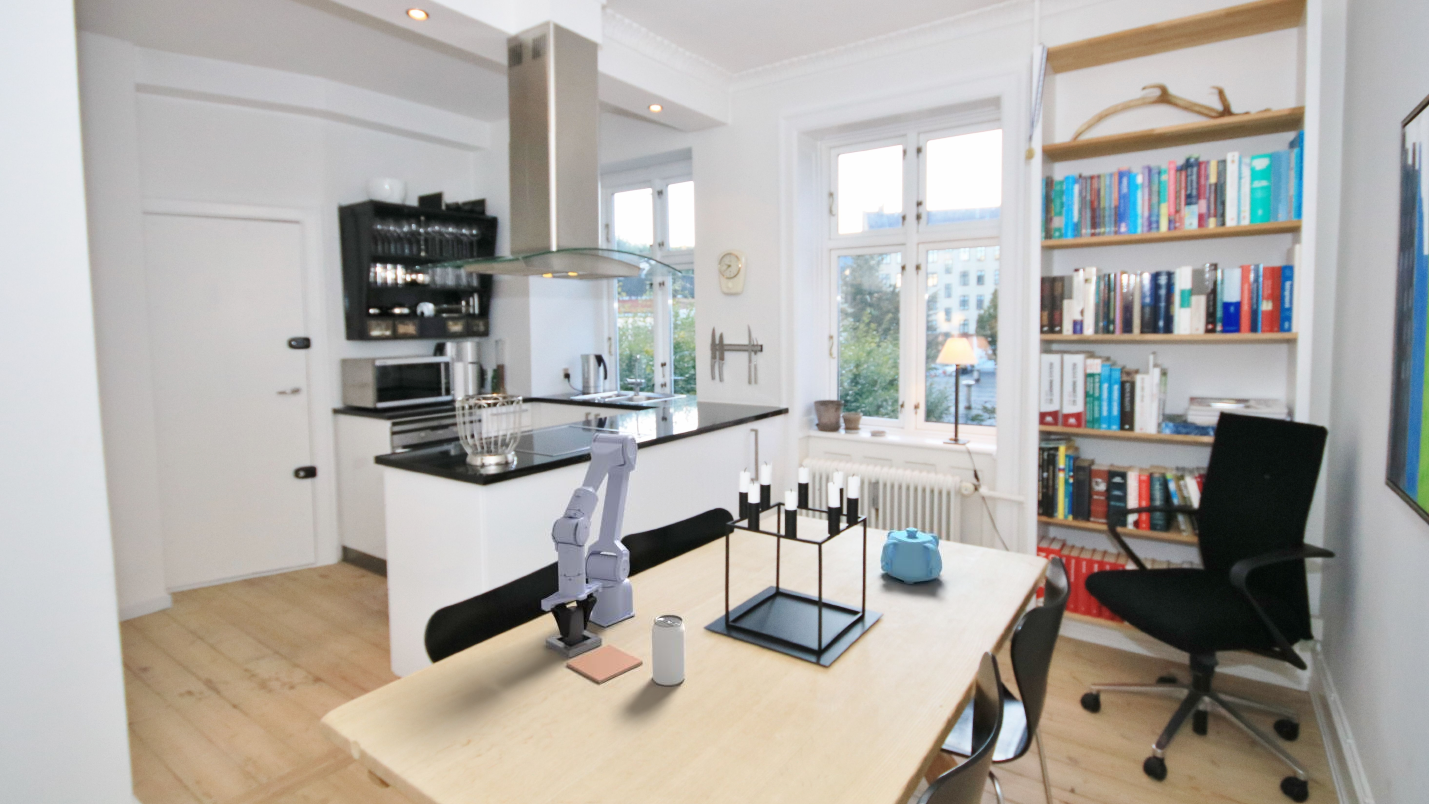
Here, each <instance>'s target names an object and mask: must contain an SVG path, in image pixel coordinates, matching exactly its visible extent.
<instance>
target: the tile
mask: <svg viewBox="0 0 1429 804" xmlns="http://www.w3.org/2000/svg"><path fill="white" fill-rule="evenodd" d="M641 665H643V660H642V659H639V658H637V657H635V656H633V655H631V654H629V653H627V652H625V651H623V650H620V649H619V648H616V647H614V646H612V645H610V644H607V645H606V646H603V647H600V648H598V649H595V650H593V651H591V652H589V653H587V654H584V655H582V656H579V657H576V658H574V659H572V660H569V661H567V662H566V666H567V667H569V668H570V669H572V670H575V671H577V672H578V673H580V674H582V675H584V676H585V677H587V678H589V679H591V680H593V681H594V682H596V683H598V684H602V683H604V682H607V681H609V680H611V679H613V678H615V677H617V676H619V675H621V674H624V673H626V672H628V671H630V670H633V669H634V668H637V667H639V666H641Z"/></svg>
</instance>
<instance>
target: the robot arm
mask: <svg viewBox="0 0 1429 804" xmlns="http://www.w3.org/2000/svg"><path fill="white" fill-rule="evenodd" d="M638 447H639V446H638V443H637V440H636V438H635V436H634V435H633V434H617V433H616V434H615V433H602V432H597V433H595V434H594V435H593V437H592V438H591V441H590V445H589V453H590V458H591V459H590V462H589V465H588V467H587V471H586V474H585V476H584V480H583V483H582V485H581V486H580V487H577V488H576V489H574V490H573V494H572V496H571V497H570V500H569V502H568V503H567V506H566V508H565V510H564V513H563V515H562V516H561V517H560V518H558V519H556V520H555V521H554V523H553V525H552V528H551V529H552V530H551V531H552V532H551V535H550V536H551V540H552V542H553V543H554V550H555V551H556V552H557V566H558V567H557V568H558V569H557V570H558V573H557V574H558V591H556V592H555V593H553V594H552V595H549V596H548V597H546V598H543V599H541V603H540V604H541V610H543V611H545V612H548V611H549V612H551V614H552V617H553V618H554V620H555V623H556V625H557V628H558V632H559V634H560V635H561V636H563V637H565V638H566V637H568V635H569V617H570V612H571V609H569V608H567V607H568V606H567V605H566V604H568V603H570V602H573V601H575V604H576V605H575V606H580V607H582V608H583V615H584V630H586V631H588V630H587V629H588V626H589V621H590V622H592V623H594V624H597V625H600V626H602V627H604V628H606V627H609V626H611V625H614V624H616V623H619V622H621V621H623V620H626V619H628V618H631V617H633V616H635V615H636V613H635V612H634V601H633V600H634V596H633V595H634V594H633V593H634V591H633V586H632V583H631V581H630V580H629V579H628V577H629V573H630V566H631V565H630V551H629V549H627V547H626V546H625V545H624V544H623V543H622V542H621V537H622V530H623V529H622V528H623V522H624V515H625V510H626V502H627V501H626V500H627V494H628V487H629V481H630V474H631V472H633V471H634V470H635V469H636V468H635V467H636V464H637V456H638V451H639V450H638V449H639V448H638ZM607 475H608V476H607ZM606 476H607V483H606V489H605V495H604V501H603V508H602V513H601V522H600V527H599V529H600V530H599V535H598V539H597V540H596V541H595V542H593V543H592V544H590V545H589V546H588V548H587V551H586V549H585V548H586V547H585V544H586V543H587V542H588V540H589V537H590V534H591V533H590V532H591V526H592V521H591V519H592V517H593V515H594V513H595V510H596V507H597V505H598V503H599V496H598V494H597V492H598V491H599V488H600V487H601V485H602V483H603V481H604V480H605V477H606ZM585 553H586V554H585ZM608 553H612V554H608ZM587 579H588V580H587ZM586 580H587V581H588V583H586Z"/></svg>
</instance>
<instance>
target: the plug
mask: <svg viewBox="0 0 1429 804" xmlns="http://www.w3.org/2000/svg"><path fill="white" fill-rule="evenodd" d="M567 608H569V609H571V612H570V617H569V635H568V637H566V638H565V637H564V644H566V645H568V646H570V647H572V646H574V645H577V644H579V643H582V642H584V615H583V608H582V607H580V606H577V605H571V606H570V605H569V606H567Z"/></svg>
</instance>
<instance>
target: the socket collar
mask: <svg viewBox="0 0 1429 804" xmlns="http://www.w3.org/2000/svg"><path fill="white" fill-rule="evenodd" d="M602 645H603V639H602V637H601V636H599V635H596V634H594V633H592V632H590V631H588V630H584V642H582V643H579V644H577V645H574V646H572V647H570V646H568V645H566V644H564V637H563V636H561V635H560V633H558V634H555V635H552V636H551V637H550V636H549V637H548V638H546V639H545V647H548V648H549V649H551V650H552V651H555V652H557V653H559V654H561V655H563V656H564V657H566V658H568V659H571V658H574V657H575V656H576V657H577V656H579V655H580V654H583V653H585V652H588V651H591V650H592V649H595V648H598V647H599V646H602Z"/></svg>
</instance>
